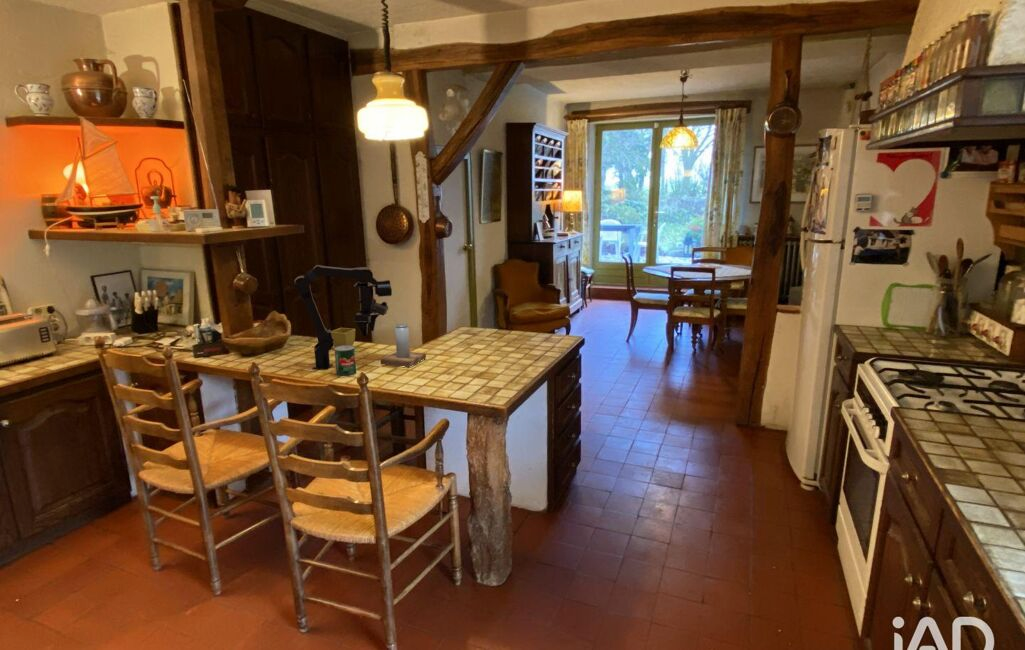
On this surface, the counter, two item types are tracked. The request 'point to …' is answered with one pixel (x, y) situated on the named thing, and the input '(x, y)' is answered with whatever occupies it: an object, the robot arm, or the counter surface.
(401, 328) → the grey can
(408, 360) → the board
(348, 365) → the canned tomato
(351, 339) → the flower pot
